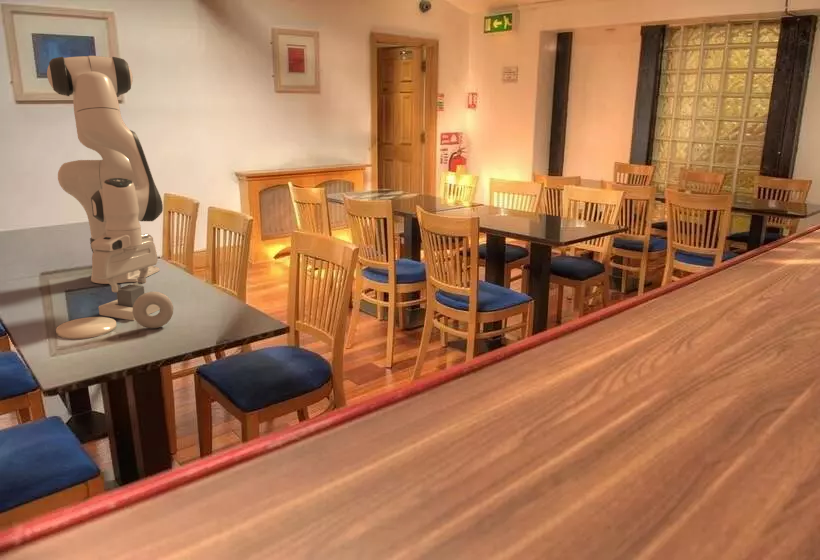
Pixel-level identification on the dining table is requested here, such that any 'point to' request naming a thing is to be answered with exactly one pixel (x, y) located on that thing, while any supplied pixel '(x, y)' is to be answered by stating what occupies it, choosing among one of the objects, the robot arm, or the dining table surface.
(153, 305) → the pocket collar
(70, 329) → the peach ellipsoid
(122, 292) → the block
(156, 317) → the donut
